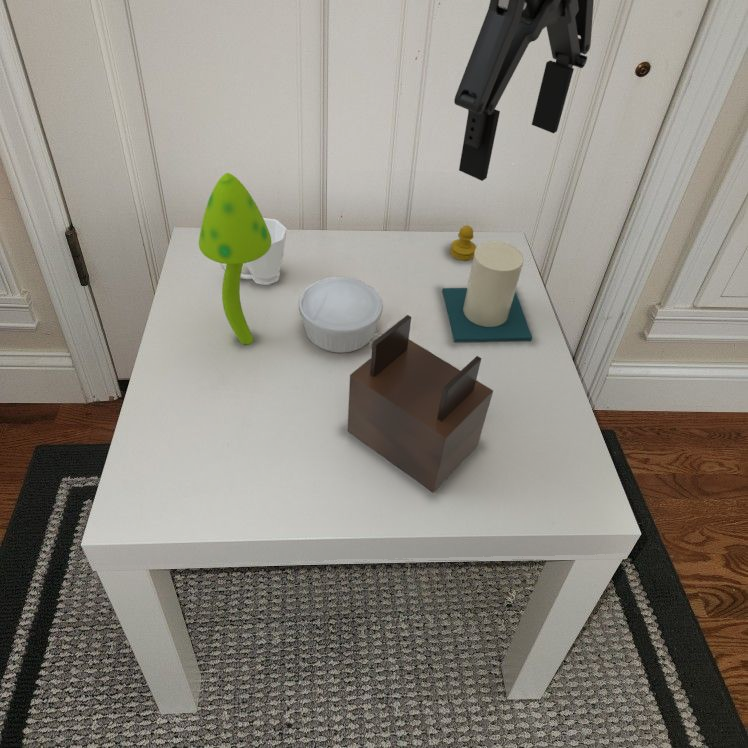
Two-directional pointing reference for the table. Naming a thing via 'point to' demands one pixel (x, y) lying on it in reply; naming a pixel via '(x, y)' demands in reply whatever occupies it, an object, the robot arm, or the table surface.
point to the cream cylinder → (492, 283)
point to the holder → (417, 407)
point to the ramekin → (340, 313)
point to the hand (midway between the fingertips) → (510, 150)
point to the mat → (471, 332)
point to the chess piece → (463, 245)
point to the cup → (268, 256)
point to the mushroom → (233, 243)
